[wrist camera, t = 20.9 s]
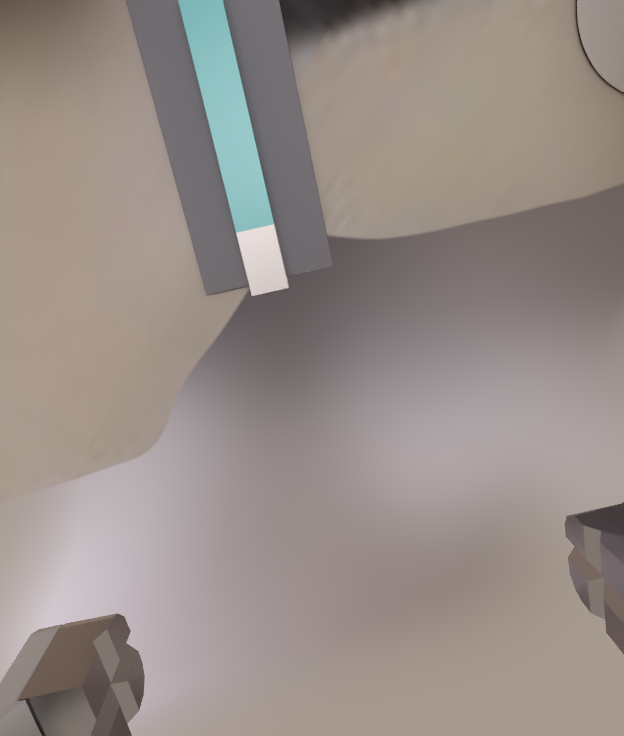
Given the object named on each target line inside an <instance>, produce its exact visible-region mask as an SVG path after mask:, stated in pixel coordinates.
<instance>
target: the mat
mask: <svg viewBox="0 0 624 736" xmlns="http://www.w3.org/2000/svg"><path fill="white" fill-rule="evenodd" d="M126 1H127V5H128V9H129V12H130V16H131V20H132V23H133V27H134V31H135V34H136V38H137V42H138V45H139V49H140V53H141V56H142V60H143V64H144V67H145V71H146V75H147V78H148V82H149V86H150V89H151V93H152V97H153V100H154V104H155V108H156V111H157V115H158V119H159V122H160V126H161V130H162V133H163V137H164V141H165V144H166V148H167V152H168V155H169V159H170V163H171V166H172V170H173V174H174V177H175V181H176V185H177V188H178V192H179V196H180V199H181V203H182V207H183V210H184V214H185V218H186V221H187V225H188V229H189V232H190V236H191V240H192V243H193V247H194V251H195V254H196V258H197V262H198V265H199V269H200V273H201V276H202V280H203V284H204V287H205V291H206V295H209V294H213V293H218V292H222V291H227V290H231V289H236V288H240V287H244V286H249V282H248V278H247V274H246V270H245V266H244V262H243V258H242V254H241V250H240V246H239V242H238V238H237V234H236V230H235V226H234V222H233V218H232V214H231V210H230V206H229V202H228V198H227V194H226V190H225V186H224V182H223V178H222V174H221V170H220V166H219V162H218V158H217V154H216V150H215V146H214V142H213V138H212V134H211V130H210V126H209V122H208V118H207V114H206V110H205V106H204V102H203V98H202V94H201V90H200V86H199V82H198V78H197V74H196V70H195V66H194V62H193V58H192V54H191V50H190V46H189V42H188V38H187V34H186V30H185V26H184V22H183V18H182V14H181V10H180V6H179V2H178V0H126ZM224 5H225V9H226V13H227V18H228V22H229V26H230V31H231V35H232V39H233V44H234V48H235V53H236V57H237V61H238V66H239V70H240V74H241V79H242V83H243V87H244V92H245V96H246V101H247V105H248V109H249V114H250V118H251V122H252V127H253V131H254V135H255V140H256V144H257V149H258V153H259V157H260V162H261V166H262V170H263V175H264V179H265V183H266V188H267V192H268V197H269V201H270V205H271V210H272V214H273V218H274V223H275V227H276V231H277V236H278V240H279V245H280V249H281V253H282V258H283V262H284V266H285V271H286V275H287V277H288V276H293V275H298V274H302V273H306V272H311V271H315V270H320V269H324V268H329V267H332V266H333V264H332V260H331V254H330V250H329V245H328V240H327V235H326V230H325V225H324V220H323V215H322V210H321V205H320V200H319V195H318V190H317V186H316V181H315V176H314V171H313V166H312V161H311V156H310V151H309V146H308V141H307V136H306V131H305V127H304V122H303V117H302V112H301V107H300V102H299V97H298V92H297V87H296V82H295V77H294V72H293V68H292V63H291V58H290V53H289V48H288V43H287V38H286V33H285V28H284V23H283V18H282V13H281V9H280V4H279V0H224Z"/></svg>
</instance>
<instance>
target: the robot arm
mask: <svg viewBox="0 0 624 736" xmlns="http://www.w3.org/2000/svg"><path fill="white" fill-rule="evenodd" d="M577 19H578V27H579V32H580V37H581V40H582V43H583V46H584V49H585V51H586V54H587V56H588V58H589V60H590V61H591V63H592V65H593V66H594V68H595V69H596V70H597V72H598V73H599V74H600V75H601V76H602V77H603V78H604V79H605V80H606V81H607V82H608V83H609V84H611V85H612V86H613V87H615V88H616V89H618V90H620V91H622V92H624V0H577ZM565 531H566V537H567V538H568V539H569V540H570V541H571V543H572V544H573V545H574V546H575V547H574V548H573V550H572V552H571V553H570V555H569V557H568V562H569V569H570V575H571V578H572V580H573V584H574V587H575V589H576V591H577V593H578V595H579V597H580V599H581V600H582V602H583V603H584V605H585V606H586V607H587V608H588V610H589V611H590V612H591V613H593V614H595V615H597V616H599V617H601V618H603V619H605V622H606V633H607V634H608V635H609V636H610V638H611V639H612V640H613V641H614V642H615V644H616V645H617V646H618V648H619V649H620V650H621V651H622V653H623V654H624V502H623V503H622V504H618V505H614V506H609V507H605V508H601V509H596V510H591V511H587V512H583V513H578V514H574V515H569V516H567V517H566V522H565ZM129 634H130V629H129V627H128V624H127V622H126V620H125V617H124V616H122V615H120V614H113V615H108V616H103V617H98V618H93V619H87V620H82V621H77V622H72V623H67V624H65V625H57V626H53V627H48V628H44V629H39V630H37V631H36V632H34V633H32V634H31V635H30V637H29V638H28V640H27V642H26V643H25V645H24V646H23V648H22V649H21V651H20V653H19V654H18V656H17V657H16V659H15V660H14V662H13V664H12V665H11V667H10V668H9V670H8V672H7V673H6V675H5V676H4V678H3V679H2V681H1V683H0V736H132V735H131V732H130V730H129V727H128V725H127V723H128V722H129V721H130V720H131V719H132V718H133V717H134V715H135V714H136V713H137V712H138V711H139V709H140V706H141V702H142V698H143V695H144V670H143V664H142V661H141V658H140V655H139V652H138V651H137V650H136V649H134V648H133V647H131V646H130V645H128V644H127V643H126V642H127V639H128V637H129Z"/></svg>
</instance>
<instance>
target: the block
mask: <svg viewBox="0 0 624 736" xmlns="http://www.w3.org/2000/svg"><path fill="white" fill-rule="evenodd" d="M178 2H179V6H180V10H181V14H182V18H183V22H184V26H185V30H186V34H187V38H188V42H189V46H190V50H191V54H192V58H193V62H194V66H195V70H196V74H197V78H198V82H199V86H200V90H201V94H202V98H203V102H204V106H205V110H206V114H207V118H208V122H209V126H210V130H211V134H212V138H213V142H214V146H215V150H216V154H217V158H218V162H219V166H220V170H221V174H222V178H223V182H224V186H225V190H226V194H227V198H228V202H229V206H230V210H231V214H232V218H233V222H234V226H235V230H236V234H237V238H238V242H239V246H240V250H241V254H242V258H243V262H244V266H245V270H246V274H247V278H248V282H249V286H250V290H251V294H252V296H255V295H259V294H264V293H268V292H272V291H277V290H281V289H286V288H288V287H289V284H288V280H287V275H286V271H285V266H284V262H283V258H282V253H281V249H280V245H279V240H278V236H277V231H276V227H275V223H274V218H273V214H272V210H271V205H270V201H269V197H268V192H267V188H266V183H265V179H264V175H263V170H262V166H261V162H260V157H259V153H258V149H257V144H256V140H255V135H254V131H253V127H252V122H251V118H250V114H249V109H248V105H247V101H246V96H245V92H244V87H243V83H242V79H241V74H240V70H239V66H238V61H237V57H236V53H235V48H234V44H233V39H232V35H231V31H230V26H229V22H228V18H227V13H226V9H225V5H224V0H178Z"/></svg>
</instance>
